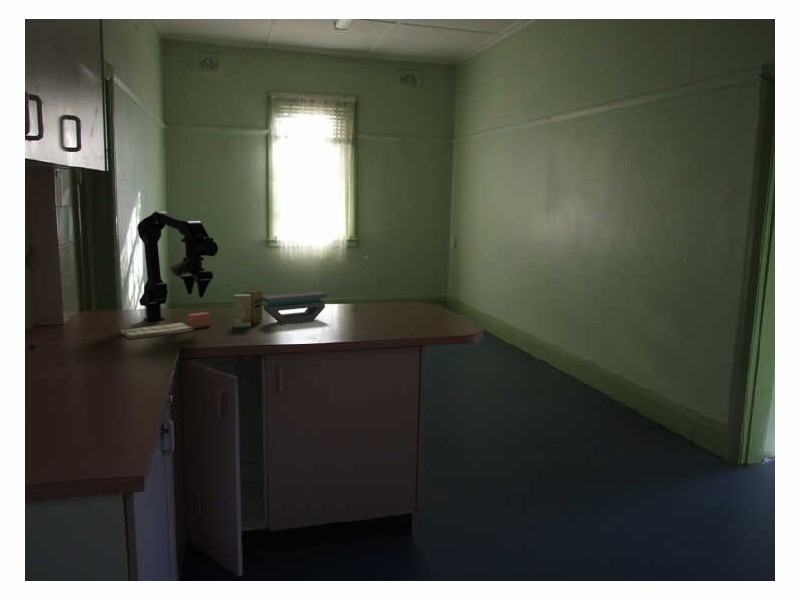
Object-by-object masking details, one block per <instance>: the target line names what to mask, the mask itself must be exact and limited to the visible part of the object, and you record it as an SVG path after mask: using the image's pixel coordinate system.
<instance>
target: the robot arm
mask: <svg viewBox="0 0 800 600" xmlns="http://www.w3.org/2000/svg"><path fill="white" fill-rule="evenodd" d="M166 226H168V227H170V228H173V229H176V230H178V232H179V234H181V235H182V236H184V237H183V238H182V239H181V240H180V241H181V243H184V249H185V256H184V257H183V258H182V261H181V262H179V263H178V262H177V263H176V264H174V265H172V266H170V267H169V269H170V272H171V273H172V275H173V276H176V277H178V278H180V279H181V280H182V281H183V283H184V285H185V289H186V292H187V294H188V295H192V293H193V289H194V287H195V286H194V285H195V283H196V286H197V293H198V297H199V298H200V299H201V298H203V297H204V294H205V293H206V291H207V288H208V286H209V284H210V282H212V280H213V279H214V273H213V272H212V271H211V270H206V269H205V268H204V267H203V261H205V257H215V256H216V255H217V254H218V251H219V246H218V244H217V242H216V241H214V238H213V237H210V236H209V233H208V232H207V230H206V229H205V226H204V225H203V222H202V221H200V220H195V219H184V218H182V217H179V216H177V215H174V214H171V213H168V212H167V211H163V210H162V211H161V210H159V211H154V212H152V213H151V214H150V215H148V216H147V217H145V218H143V219H141V220H140V221H139V222H138V224H137V227H136V228H137V232H138V237H139V238H140V240H141V241H142V242H143V245H144V255H145V263H146V264H145V265H146V276H147V278H146V279H147V280H146V282H145V284H144V286H143V294H141V295H142V296H141V297H140V298H139V305H140V306H142V307H145V316H146V317H143V320H145V321H147V322H153V321H162V320H165V317H162V316H163V315H162V305H164V304H165V305H166V303H167V298H168V294H169V290H168V284H167V283H166V282H164V281H163V280H162V276H161V268H160V267H161V265H160V263H161V262H160V253H159V241H160V239H161V237H162V230H163V229H164V228H165V227H166Z"/></svg>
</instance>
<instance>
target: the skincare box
mask: <svg viewBox="0 0 800 600" xmlns="http://www.w3.org/2000/svg"><path fill="white" fill-rule="evenodd" d="M233 300H234V301H233V310H234V314H233V315H234V316H233V317H234V319H233V321H234V328H245V327H244V326H251V327H252V322H251V294H244V293H243V294H242V293H241V294H240V293H239V294H234V295H233Z"/></svg>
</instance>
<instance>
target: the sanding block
mask: <svg viewBox="0 0 800 600" xmlns="http://www.w3.org/2000/svg"><path fill="white" fill-rule="evenodd" d="M187 315H188V326H191V327H193V329H198V328H199V327H201V328H205V327H204V326H208V327H210V326H209V325H211V326H212V322H211V313H209V312H206V311H205V312H196V313H189V314H187Z"/></svg>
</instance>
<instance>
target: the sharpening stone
mask: <svg viewBox="0 0 800 600" xmlns="http://www.w3.org/2000/svg"><path fill="white" fill-rule="evenodd" d="M325 298H326V299H327V298H328V293H326V292H322V291H319V290H318V291H306V292H293V293H282V294H281V293H280V294H270V295H262V296H261V300H262V302H264V303H263V310H264V311H265V312H266V313H268V315H269V316H271V317H272V318H273V319H274V320H276V322H278V323H280V324H282V325H284V326H287V325H286V324H290V325H297V324H298V323H299V324H307V323H313V322H314V321H315V319H317V317H318V316H320V315H321V313H322V311H323V310H324V309H325V308H326V301H322V300H321V299H325ZM299 309H305V311H302V312H293V313H281V312H280V311H289V310H299Z"/></svg>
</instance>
